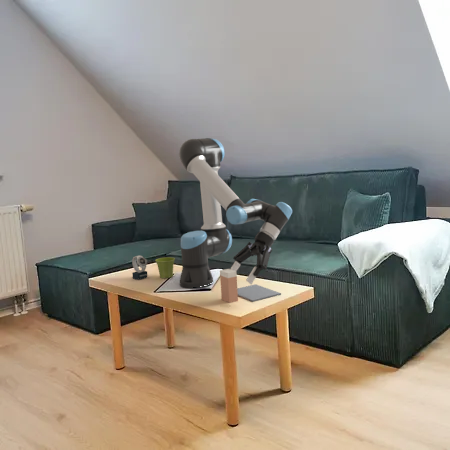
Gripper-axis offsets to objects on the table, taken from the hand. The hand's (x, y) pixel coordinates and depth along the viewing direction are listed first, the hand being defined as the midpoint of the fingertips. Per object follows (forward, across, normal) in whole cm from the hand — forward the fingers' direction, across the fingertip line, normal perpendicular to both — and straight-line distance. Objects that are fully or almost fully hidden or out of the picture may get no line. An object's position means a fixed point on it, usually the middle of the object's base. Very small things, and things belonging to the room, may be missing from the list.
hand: (238, 279), depth 199 cm
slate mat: (0, +2, -12) cm, 12 cm away
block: (+8, +2, -3) cm, 9 cm away
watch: (+18, +61, +6) cm, 64 cm away
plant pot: (+10, +54, -1) cm, 55 cm away
